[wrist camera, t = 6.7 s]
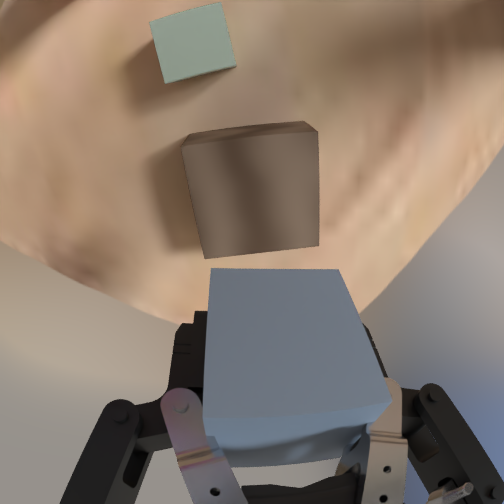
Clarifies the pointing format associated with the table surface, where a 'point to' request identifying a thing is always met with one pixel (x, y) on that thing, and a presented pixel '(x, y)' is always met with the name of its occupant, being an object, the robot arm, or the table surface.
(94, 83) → the table surface
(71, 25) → the table surface
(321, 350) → the blue block
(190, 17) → the sage cube
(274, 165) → the walnut block
